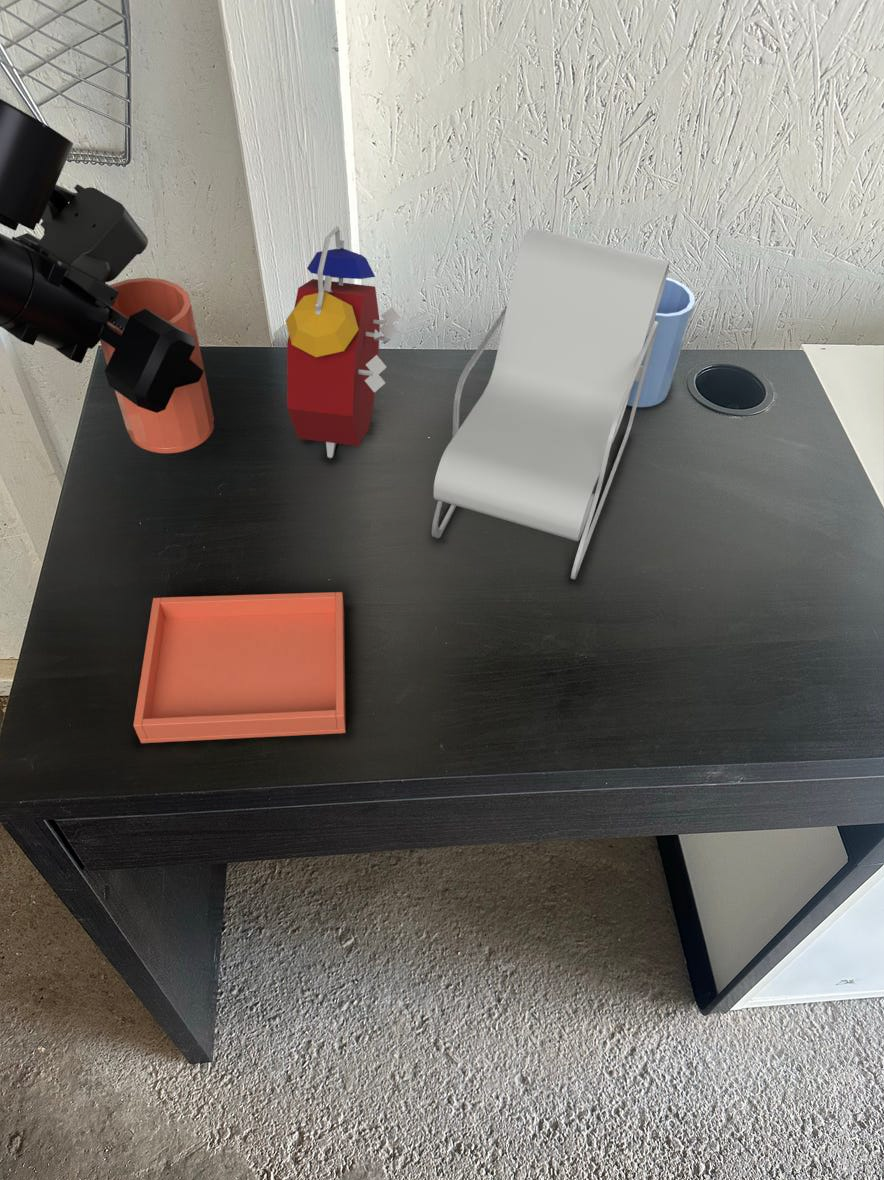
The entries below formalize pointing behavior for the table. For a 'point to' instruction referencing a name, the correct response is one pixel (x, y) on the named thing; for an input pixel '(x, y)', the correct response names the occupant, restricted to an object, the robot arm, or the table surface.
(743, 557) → the table surface
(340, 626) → the coral tray
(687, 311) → the blue cup
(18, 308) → the robot arm
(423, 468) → the table surface
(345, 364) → the alarm clock
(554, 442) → the chair
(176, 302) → the coral cup
